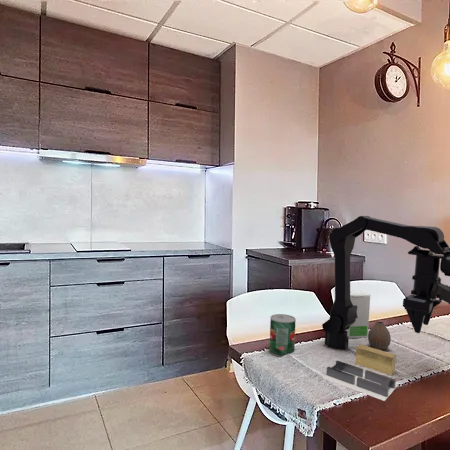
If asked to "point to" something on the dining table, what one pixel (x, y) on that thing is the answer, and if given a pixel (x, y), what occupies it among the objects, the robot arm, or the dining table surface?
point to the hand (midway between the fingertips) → (421, 328)
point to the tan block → (375, 359)
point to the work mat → (360, 387)
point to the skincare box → (360, 315)
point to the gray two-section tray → (363, 383)
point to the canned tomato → (282, 334)
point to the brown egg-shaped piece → (379, 336)
